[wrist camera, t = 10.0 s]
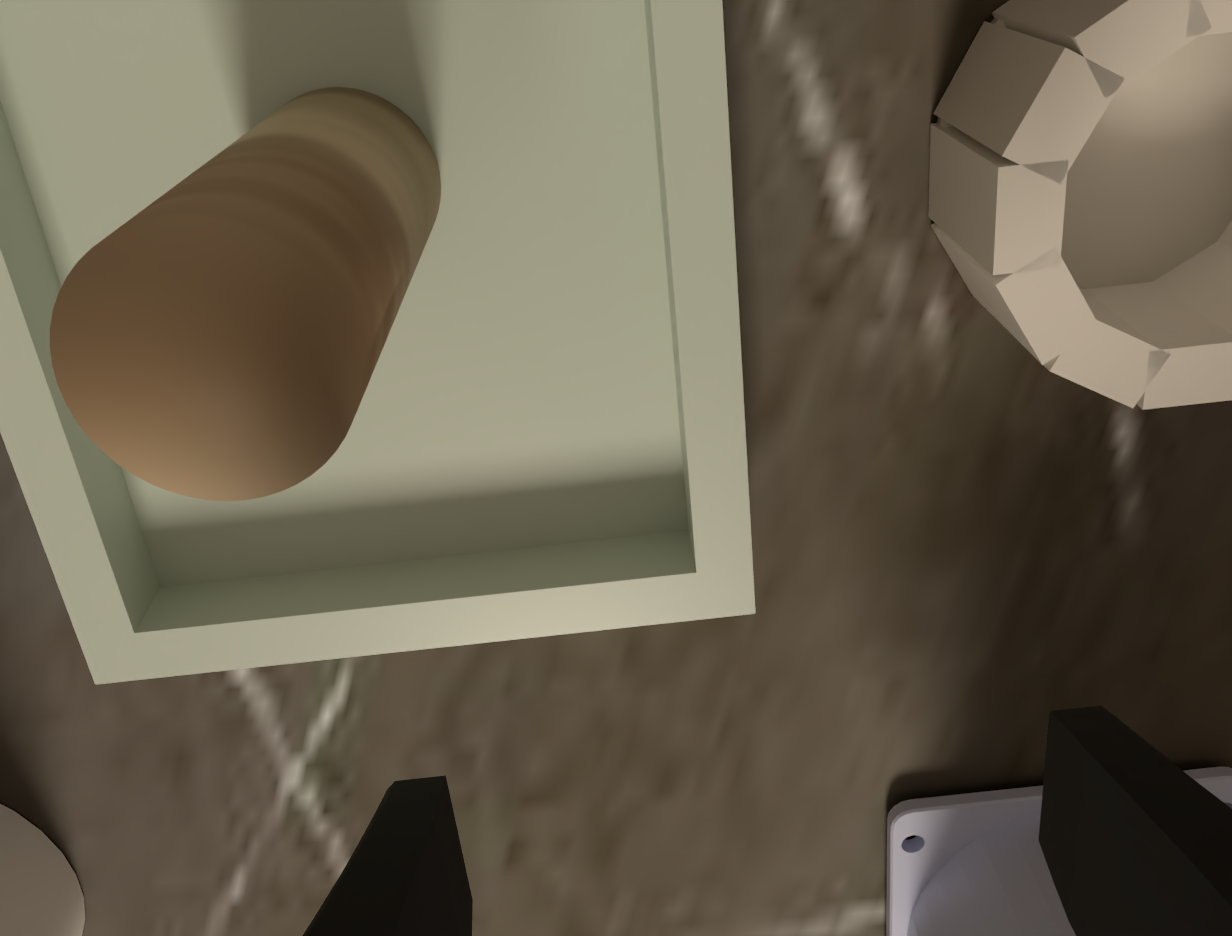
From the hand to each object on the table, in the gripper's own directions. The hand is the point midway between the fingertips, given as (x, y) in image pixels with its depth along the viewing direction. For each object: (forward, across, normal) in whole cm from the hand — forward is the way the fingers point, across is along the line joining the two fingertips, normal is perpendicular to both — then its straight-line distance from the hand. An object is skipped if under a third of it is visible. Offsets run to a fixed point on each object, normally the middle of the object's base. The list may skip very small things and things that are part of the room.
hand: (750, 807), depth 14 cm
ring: (+9, -8, -5) cm, 13 cm away
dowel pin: (+8, +5, -6) cm, 12 cm away
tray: (+9, +5, -6) cm, 12 cm away
